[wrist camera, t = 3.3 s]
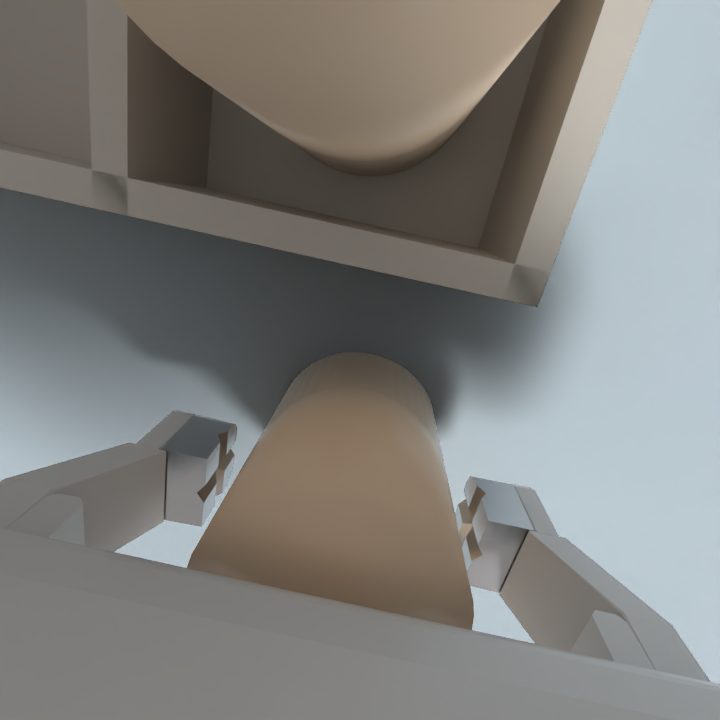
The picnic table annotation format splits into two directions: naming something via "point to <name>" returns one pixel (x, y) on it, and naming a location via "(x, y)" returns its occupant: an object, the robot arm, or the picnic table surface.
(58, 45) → the carton
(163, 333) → the picnic table surface
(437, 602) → the egg
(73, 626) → the robot arm
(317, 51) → the egg
